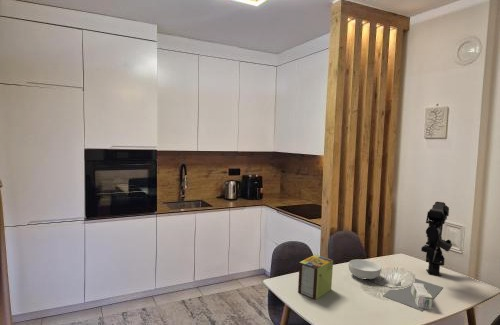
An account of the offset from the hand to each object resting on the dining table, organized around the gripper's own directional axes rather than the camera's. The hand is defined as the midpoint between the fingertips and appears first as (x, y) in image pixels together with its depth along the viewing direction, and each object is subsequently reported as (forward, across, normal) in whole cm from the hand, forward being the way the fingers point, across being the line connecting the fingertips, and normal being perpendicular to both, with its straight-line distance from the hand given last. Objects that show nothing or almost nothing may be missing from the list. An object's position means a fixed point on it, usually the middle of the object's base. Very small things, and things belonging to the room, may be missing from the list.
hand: (431, 261), depth 173 cm
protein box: (+12, -55, +37) cm, 67 cm away
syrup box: (+9, -18, +1) cm, 21 cm away
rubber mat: (+12, -17, +2) cm, 21 cm away
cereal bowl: (+12, -20, +28) cm, 36 cm away
